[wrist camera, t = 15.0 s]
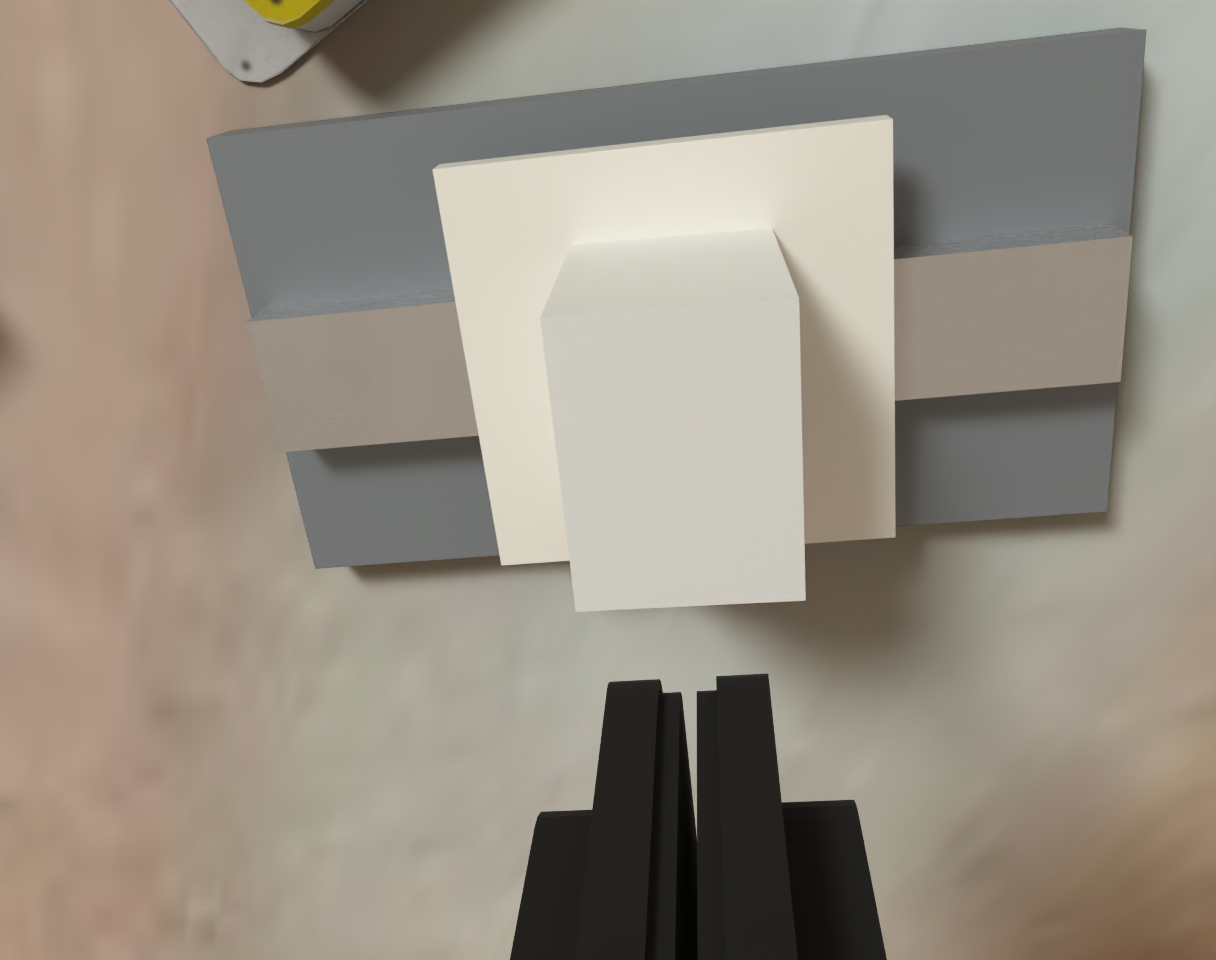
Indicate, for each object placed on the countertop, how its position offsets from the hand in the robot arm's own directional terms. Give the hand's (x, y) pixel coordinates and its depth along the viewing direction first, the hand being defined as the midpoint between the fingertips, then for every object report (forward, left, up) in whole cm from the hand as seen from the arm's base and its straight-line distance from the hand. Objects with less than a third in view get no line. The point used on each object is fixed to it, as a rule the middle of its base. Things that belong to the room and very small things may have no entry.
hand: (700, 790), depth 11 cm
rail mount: (0, 0, -19) cm, 19 cm away
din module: (0, 0, -15) cm, 15 cm away
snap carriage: (0, +1, -18) cm, 18 cm away
